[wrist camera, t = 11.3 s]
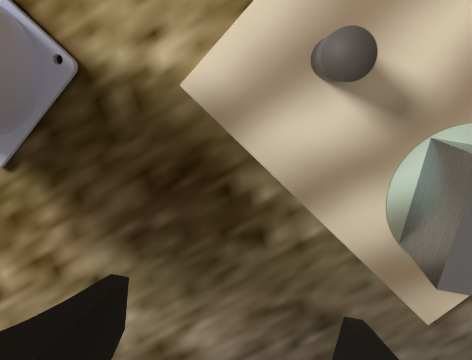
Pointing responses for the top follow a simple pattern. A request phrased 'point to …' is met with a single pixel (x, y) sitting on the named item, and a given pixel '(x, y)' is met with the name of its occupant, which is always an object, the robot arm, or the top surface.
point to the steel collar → (443, 217)
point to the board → (348, 113)
